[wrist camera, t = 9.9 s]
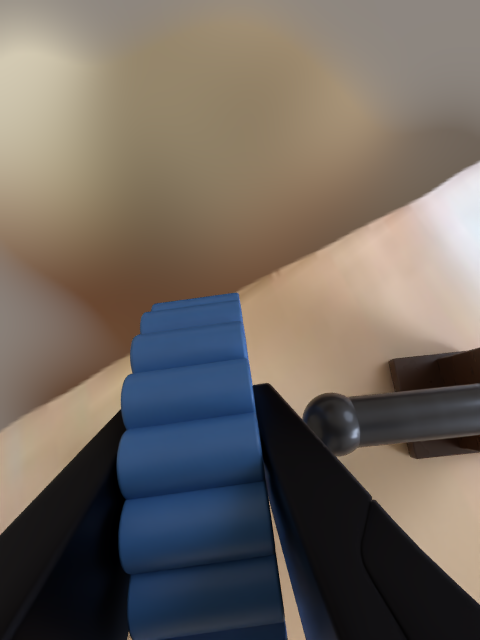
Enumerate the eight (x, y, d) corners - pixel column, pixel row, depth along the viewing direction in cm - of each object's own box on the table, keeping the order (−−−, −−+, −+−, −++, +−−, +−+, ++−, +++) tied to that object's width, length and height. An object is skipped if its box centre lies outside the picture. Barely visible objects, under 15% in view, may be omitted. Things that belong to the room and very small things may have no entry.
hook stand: (463, 352, 20) (681, 293, 10) (491, 448, 19) (783, 496, 8) (274, 372, 20) (296, 333, 10) (286, 469, 19) (328, 542, 8)
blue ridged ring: (274, 561, 13) (327, 916, 4) (214, 569, 13) (125, 943, 4) (243, 333, 15) (230, 225, 6) (192, 340, 15) (108, 241, 6)
